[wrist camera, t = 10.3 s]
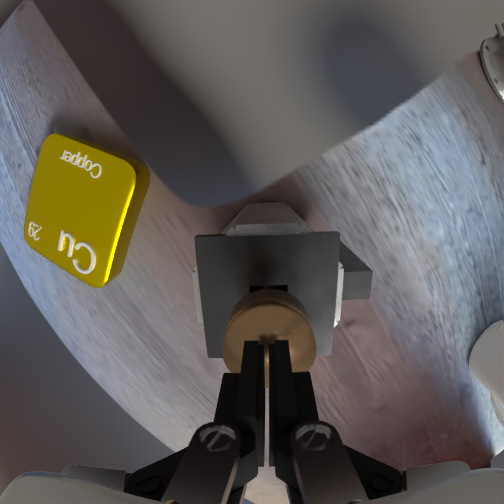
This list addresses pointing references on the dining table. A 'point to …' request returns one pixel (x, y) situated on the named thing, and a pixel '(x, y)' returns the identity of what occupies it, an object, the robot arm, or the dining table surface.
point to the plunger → (269, 328)
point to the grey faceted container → (275, 270)
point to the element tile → (84, 207)
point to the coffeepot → (490, 364)
